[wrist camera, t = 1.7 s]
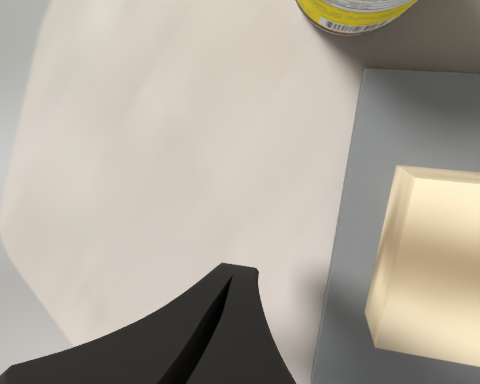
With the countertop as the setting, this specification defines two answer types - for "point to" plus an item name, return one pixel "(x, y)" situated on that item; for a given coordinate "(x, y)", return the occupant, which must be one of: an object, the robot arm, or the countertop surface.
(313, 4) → the supplement bottle
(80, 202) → the countertop surface
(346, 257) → the board
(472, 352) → the cream beveled panel
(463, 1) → the countertop surface
